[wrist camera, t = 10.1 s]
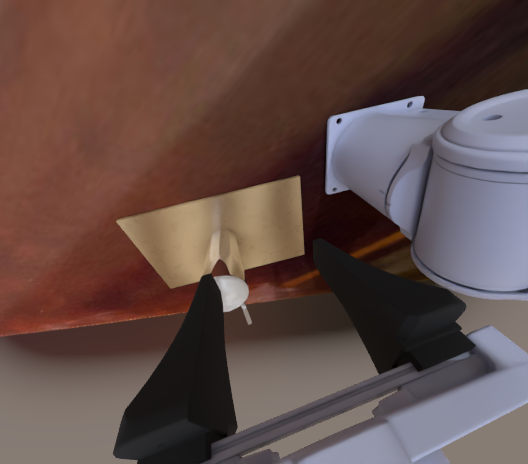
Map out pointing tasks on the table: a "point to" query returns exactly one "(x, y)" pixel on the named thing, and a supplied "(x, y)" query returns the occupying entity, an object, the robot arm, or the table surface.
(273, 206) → the desk mat
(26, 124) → the table surface
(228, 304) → the milkshake
